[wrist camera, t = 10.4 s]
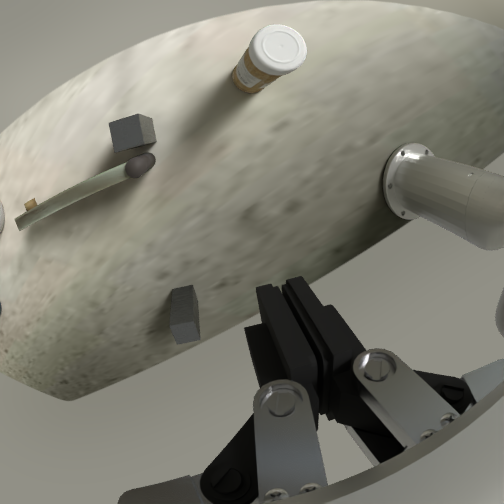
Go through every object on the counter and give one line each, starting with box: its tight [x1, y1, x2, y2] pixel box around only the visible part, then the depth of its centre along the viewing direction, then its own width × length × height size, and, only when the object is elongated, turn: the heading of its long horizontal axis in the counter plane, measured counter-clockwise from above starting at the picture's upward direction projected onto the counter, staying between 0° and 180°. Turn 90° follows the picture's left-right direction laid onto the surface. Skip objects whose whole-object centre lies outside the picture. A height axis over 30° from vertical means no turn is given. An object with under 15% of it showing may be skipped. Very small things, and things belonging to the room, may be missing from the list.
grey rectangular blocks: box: [109, 114, 200, 344], centre depth 31 cm, size 3×26×8 cm, turn 9°
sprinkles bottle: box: [232, 24, 307, 93], centre depth 24 cm, size 5×5×13 cm
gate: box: [15, 153, 156, 231], centre depth 27 cm, size 3×18×8 cm, turn 105°
